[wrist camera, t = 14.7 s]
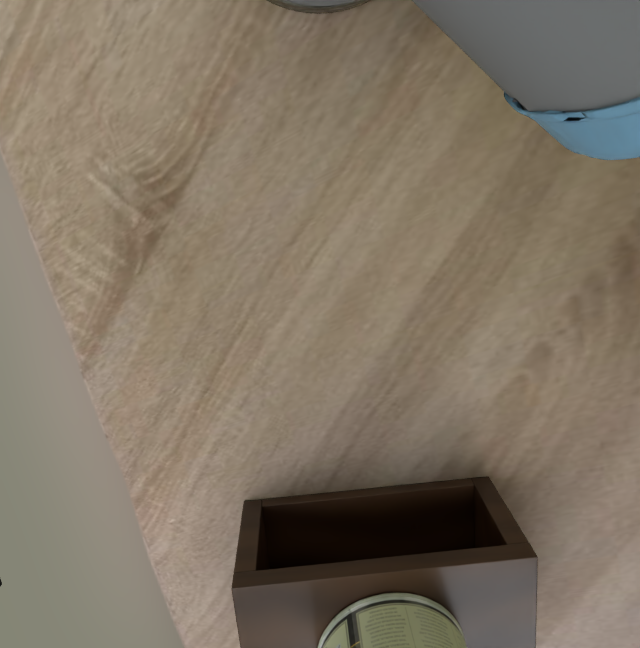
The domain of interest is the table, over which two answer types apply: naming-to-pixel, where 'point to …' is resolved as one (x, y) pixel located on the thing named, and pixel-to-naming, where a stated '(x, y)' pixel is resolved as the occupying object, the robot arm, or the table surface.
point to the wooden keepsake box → (384, 561)
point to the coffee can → (393, 624)
